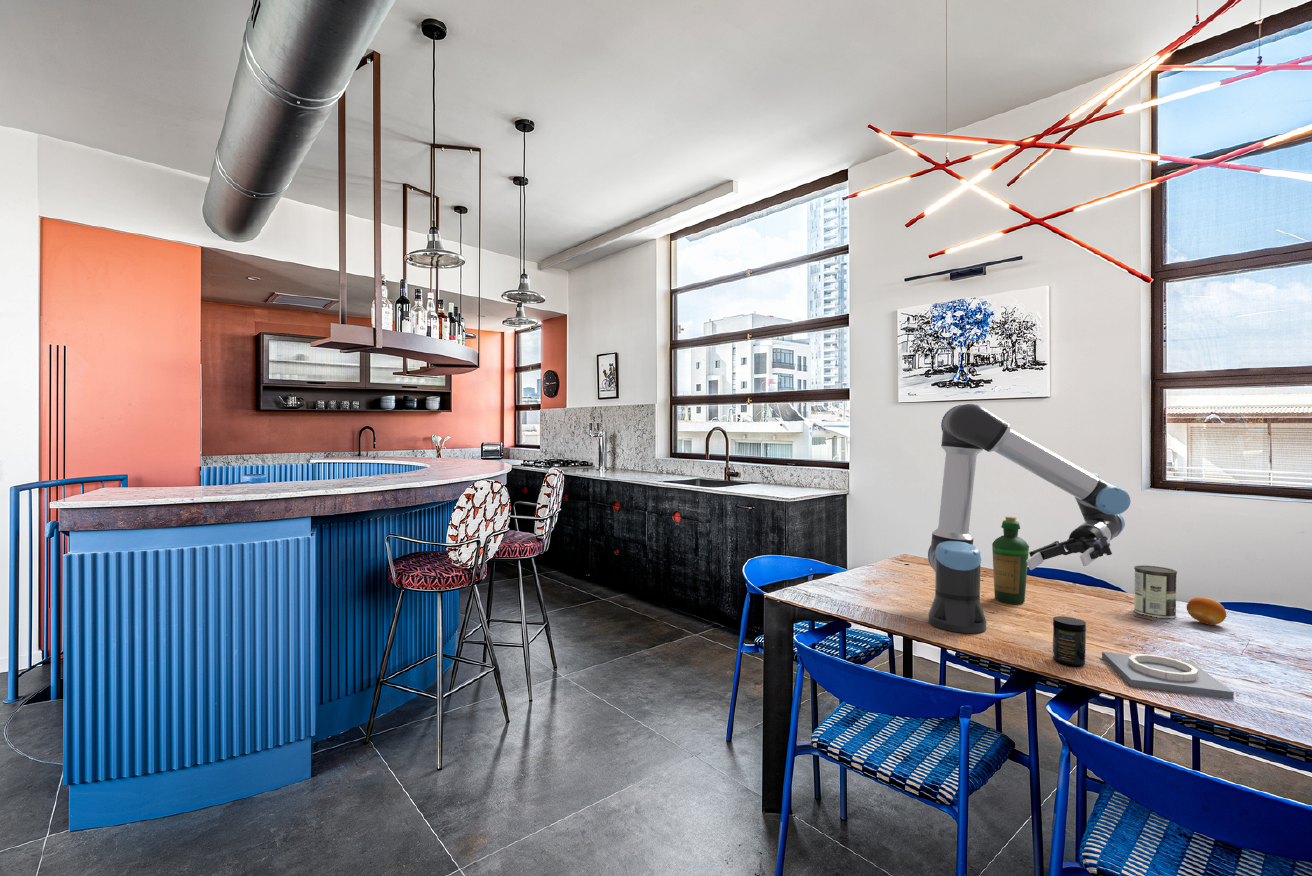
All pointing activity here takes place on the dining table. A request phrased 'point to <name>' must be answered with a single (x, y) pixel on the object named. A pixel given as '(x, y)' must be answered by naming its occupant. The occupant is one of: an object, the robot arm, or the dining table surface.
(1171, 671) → the ring board
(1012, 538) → the bottle
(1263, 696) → the dining table surface
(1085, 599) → the dining table surface
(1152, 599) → the coffee can
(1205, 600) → the fruit
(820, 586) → the dining table surface
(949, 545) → the robot arm
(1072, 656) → the supplement container
